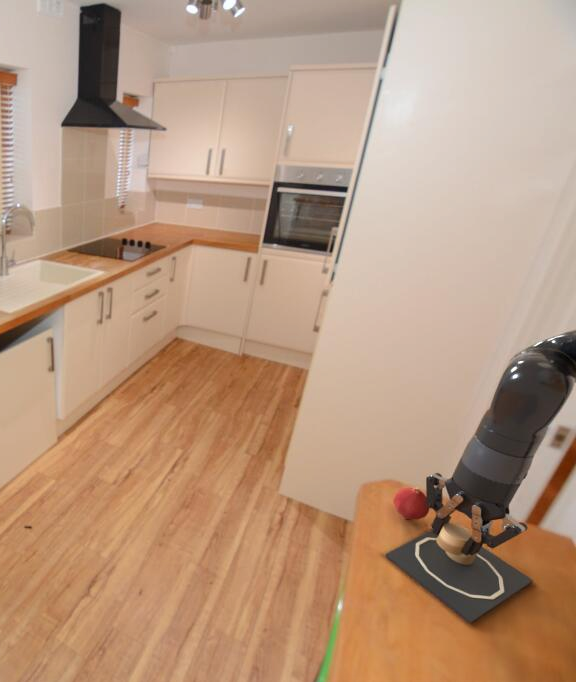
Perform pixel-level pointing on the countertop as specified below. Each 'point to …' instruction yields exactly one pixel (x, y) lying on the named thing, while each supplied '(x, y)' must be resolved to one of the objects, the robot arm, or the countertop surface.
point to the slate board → (459, 576)
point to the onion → (411, 503)
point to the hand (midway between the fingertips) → (452, 542)
